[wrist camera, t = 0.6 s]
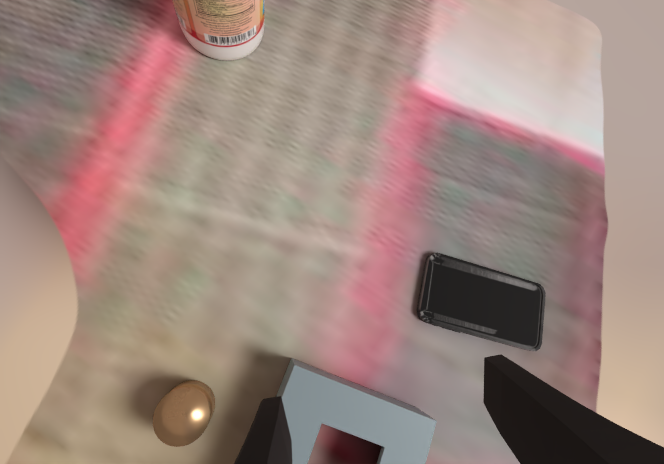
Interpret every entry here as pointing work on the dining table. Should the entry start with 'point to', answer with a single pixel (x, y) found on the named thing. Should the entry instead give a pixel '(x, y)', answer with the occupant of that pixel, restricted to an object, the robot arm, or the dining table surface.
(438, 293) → the phone
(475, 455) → the dining table surface
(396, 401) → the box
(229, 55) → the fruit juice
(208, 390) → the disc
